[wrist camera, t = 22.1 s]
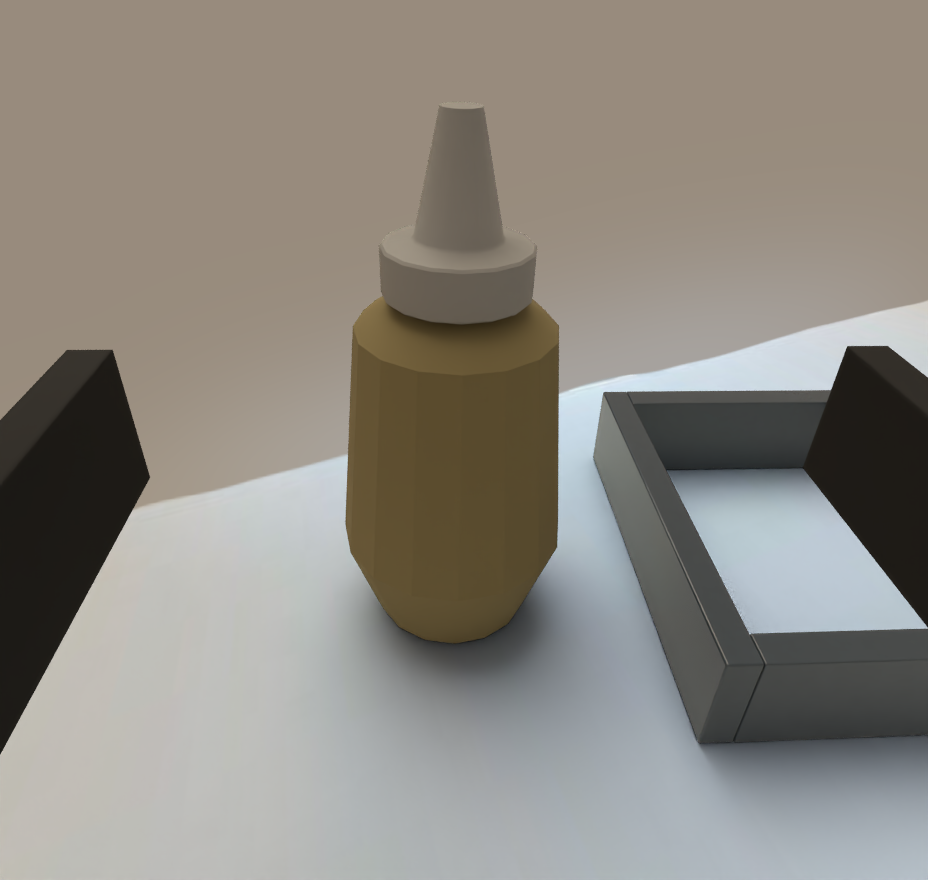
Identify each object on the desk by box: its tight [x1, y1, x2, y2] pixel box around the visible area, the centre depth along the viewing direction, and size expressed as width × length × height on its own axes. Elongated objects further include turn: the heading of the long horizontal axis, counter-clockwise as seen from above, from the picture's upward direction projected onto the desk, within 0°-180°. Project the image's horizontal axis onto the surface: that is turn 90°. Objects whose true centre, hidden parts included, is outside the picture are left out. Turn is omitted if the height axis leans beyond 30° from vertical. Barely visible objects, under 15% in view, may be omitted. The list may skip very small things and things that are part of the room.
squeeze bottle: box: [346, 102, 559, 644], centre depth 23 cm, size 8×8×18 cm
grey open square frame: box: [593, 390, 928, 743], centre depth 29 cm, size 16×16×4 cm
